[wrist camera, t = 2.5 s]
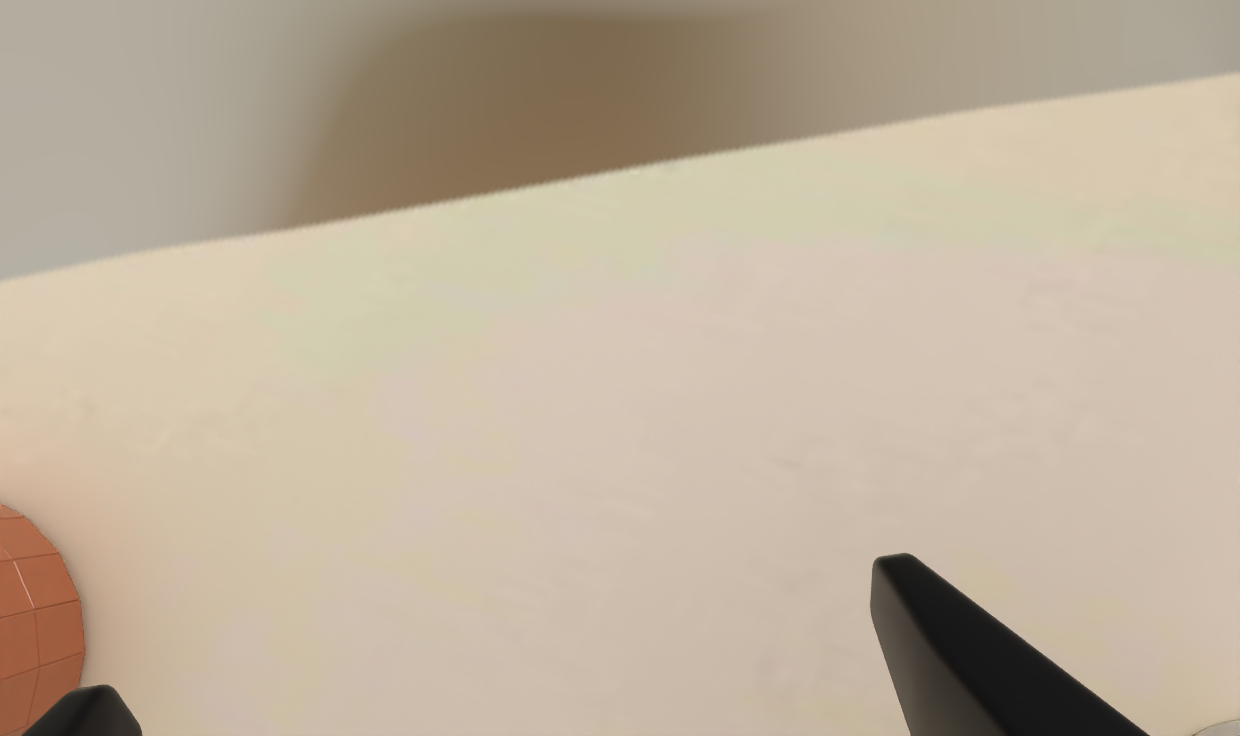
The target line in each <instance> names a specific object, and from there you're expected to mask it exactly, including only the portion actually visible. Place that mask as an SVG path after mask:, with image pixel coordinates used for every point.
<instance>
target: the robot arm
mask: <svg viewBox="0 0 1240 736" xmlns="http://www.w3.org/2000/svg"><path fill="white" fill-rule="evenodd" d="M870 609H871V616H872V620H873V624H874V627H875V630H876V633H877V636H878V639H879V642H880V645H881V648H882V651H883V654H884V657H885V660H886V663H887V666H888V669H889V672H890V675H891V678H892V681H893V684H894V687H895V690H896V693H897V696H898V699H899V702H900V705H901V708H902V711H903V714H904V717H905V720H906V723H907V726H908V728H909V731H910V734H911V736H1150V735H1148V734H1147V733H1146V732H1144V731H1143V730H1142V729H1140V728H1139V727H1138V726H1136V725H1135V724H1134V723H1132V722H1131V721H1130V720H1129V719H1127V718H1126V717H1125V716H1123V715H1122V714H1121V713H1119V712H1118V711H1117V710H1115V709H1114V708H1113V707H1111V706H1110V705H1109V704H1108V703H1106V702H1105V701H1104V700H1102V699H1101V698H1100V697H1098V696H1097V695H1096V694H1094V693H1093V692H1092V691H1090V690H1089V689H1088V688H1086V687H1085V686H1084V685H1083V684H1081V683H1080V682H1079V681H1077V680H1076V679H1075V678H1073V677H1072V676H1071V675H1069V674H1068V673H1067V672H1065V671H1064V670H1063V669H1062V668H1060V667H1059V666H1058V665H1056V664H1055V663H1054V662H1052V661H1051V660H1050V659H1048V658H1047V657H1046V656H1044V655H1043V654H1042V653H1040V652H1039V651H1038V650H1037V649H1035V648H1034V647H1033V646H1031V645H1030V644H1029V643H1027V642H1026V641H1025V640H1023V639H1022V638H1021V637H1019V636H1018V635H1017V634H1016V633H1014V632H1013V631H1012V630H1010V629H1009V628H1008V627H1006V626H1005V625H1004V624H1002V623H1001V622H1000V621H998V620H997V619H996V618H994V617H993V616H992V615H991V614H989V613H988V612H987V611H985V610H984V609H983V608H981V607H980V606H979V605H977V604H976V603H975V602H973V601H972V600H971V599H970V598H968V597H967V596H966V595H964V594H963V593H962V592H960V591H959V590H958V589H956V588H955V587H954V586H952V585H951V584H950V583H949V582H947V581H946V580H945V579H943V578H942V577H941V576H939V575H938V574H937V573H935V572H934V571H933V570H931V569H930V568H929V567H927V566H926V565H925V564H924V563H922V562H921V561H920V560H918V559H917V558H916V557H914V556H913V555H910V554H908V553H900V554H894V555H888V556H882V557H878V558H877V559H876V560H875V561H874V563H873V568H872V584H871V600H870ZM21 736H142V731H141V728H140V725H139V723H138V722H137V720H136V719H135V717H134V716H133V714H132V713H131V711H130V710H129V709H128V707H127V706H126V704H125V703H124V701H123V700H122V698H121V697H120V696H119V694H118V693H117V691H116V690H115V689H114V688H113V687H111V686H109V685H97V686H91V687H85V688H79V689H75V690H72V691H70V692H68V693H67V694H65V695H64V696H63V697H62V698H61V699H60V700H59V701H58V702H56V703H55V704H54V705H53V706H52V707H51V708H50V709H49V710H48V711H47V712H46V713H45V714H44V715H43V716H42V717H41V718H39V719H38V720H37V721H36V722H35V723H34V724H33V725H32V726H31V727H30V728H29V729H28V730H27V731H26V732H25V733H24V734H22V735H21Z"/></svg>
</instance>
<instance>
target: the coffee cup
mask: <svg viewBox="0 0 1240 736" xmlns="http://www.w3.org/2000/svg"><path fill="white" fill-rule="evenodd" d="M1193 736H1240V720H1235V721H1229V722H1224V723H1220V724H1217V725H1214V726H1211V727H1209V728H1206V729H1204V730H1202V731H1200V732H1199V733H1197V734H1195V735H1193Z"/></svg>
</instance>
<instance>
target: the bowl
mask: <svg viewBox="0 0 1240 736" xmlns="http://www.w3.org/2000/svg"><path fill="white" fill-rule="evenodd" d="M84 651H85V645H84V634H83V624H82V613H81V602H80V600H79V596H78V594H77V591H76V589H75V587H74V584H73V582H72V580H71V578H70V575H69V573H68V571H67V569H66V566H65V564H64V562H63V560H62V557H61V555H60V554H58V551H57V550H56V549H55V548H54V547H53V546H52V545H51V544H50V542H49V541H48V540H47V539H46V538H45V537H44V536H43V535H42V534H41V533H40V532H39V531H38V530H37V529H36V528H35V526H34V525H33V524H32V523H31V522H30V521H29V520H28V519H27V518H25V517H24V516H23V515H21V514H19V513H17V512H15V511H13V510H11V509H10V508H8V507H6V506H4V505H2V504H0V736H21V735H22V734H24V733H25V732H26V731H27V730H28V729H29V728H30V727H31V726H32V725H33V724H34V723H35V722H36V721H37V720H38V719H39V718H41V717H42V716H43V715H44V714H45V713H46V712H47V711H48V710H49V709H50V708H51V707H52V706H53V705H54V704H55V703H56V702H58V701H59V700H60V699H61V698H62V697H63V696H64V695H65V694H67V693H68V692H70V691H72V690H75V689H77V688H78V683H79V678H80V674H81V669H82V664H83V660H84V655H85V653H84Z"/></svg>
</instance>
